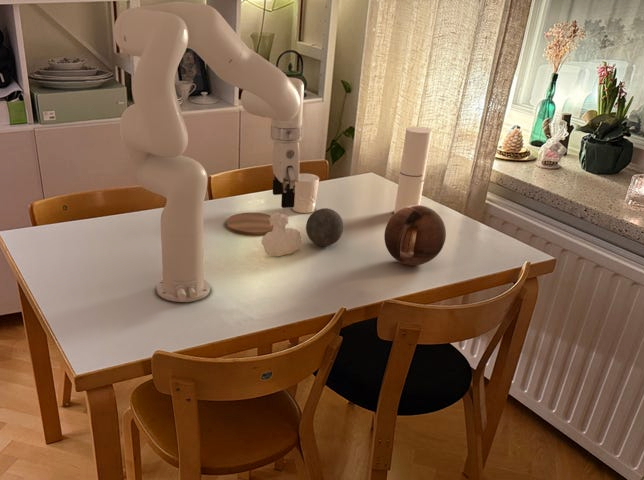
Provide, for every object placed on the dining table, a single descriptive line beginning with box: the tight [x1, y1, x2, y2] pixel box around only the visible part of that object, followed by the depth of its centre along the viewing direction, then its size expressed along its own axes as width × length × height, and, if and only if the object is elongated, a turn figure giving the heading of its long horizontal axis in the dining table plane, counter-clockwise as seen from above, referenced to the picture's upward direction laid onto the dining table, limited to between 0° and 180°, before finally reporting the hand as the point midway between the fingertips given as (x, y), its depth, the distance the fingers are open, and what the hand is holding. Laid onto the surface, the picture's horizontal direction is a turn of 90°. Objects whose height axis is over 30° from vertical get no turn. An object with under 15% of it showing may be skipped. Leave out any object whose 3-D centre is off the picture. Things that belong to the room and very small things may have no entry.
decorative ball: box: [305, 207, 344, 247], centre depth 188 cm, size 10×10×10 cm
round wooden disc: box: [225, 212, 274, 237], centre depth 202 cm, size 16×16×1 cm
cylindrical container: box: [393, 126, 433, 215], centre depth 205 cm, size 7×7×25 cm
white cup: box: [292, 173, 320, 214], centre depth 211 cm, size 8×8×10 cm
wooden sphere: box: [383, 204, 447, 266], centre depth 176 cm, size 15×15×15 cm
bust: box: [260, 212, 302, 257], centre depth 184 cm, size 12×8×11 cm
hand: (283, 200), depth 179 cm, fingers open, 9 cm apart
